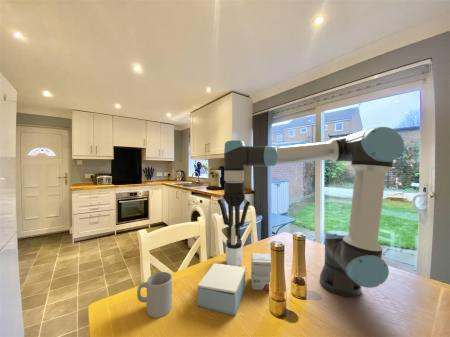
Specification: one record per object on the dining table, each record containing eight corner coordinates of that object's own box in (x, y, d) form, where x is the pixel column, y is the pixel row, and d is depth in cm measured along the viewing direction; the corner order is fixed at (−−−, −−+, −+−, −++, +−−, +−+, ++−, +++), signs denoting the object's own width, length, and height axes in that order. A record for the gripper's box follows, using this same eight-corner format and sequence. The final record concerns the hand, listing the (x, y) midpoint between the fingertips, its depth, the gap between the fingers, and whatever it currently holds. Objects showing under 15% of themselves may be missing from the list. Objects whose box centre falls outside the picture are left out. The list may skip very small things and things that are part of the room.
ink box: (270, 279, 87) (270, 253, 87) (272, 291, 79) (273, 262, 79) (250, 277, 88) (251, 252, 88) (251, 289, 80) (251, 261, 79)
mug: (174, 300, 73) (174, 271, 73) (168, 317, 65) (168, 285, 64) (141, 301, 72) (141, 272, 72) (132, 319, 64) (132, 286, 64)
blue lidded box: (245, 288, 81) (245, 271, 81) (235, 316, 65) (235, 295, 65) (214, 281, 85) (214, 265, 85) (197, 306, 70) (197, 287, 70)
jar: (233, 269, 95) (233, 245, 95) (222, 263, 101) (222, 240, 100) (245, 263, 101) (245, 240, 101) (234, 257, 107) (234, 236, 107)
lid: (245, 269, 81) (245, 267, 81) (235, 293, 65) (235, 291, 65) (214, 264, 85) (214, 263, 85) (197, 286, 70) (197, 285, 70)
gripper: (252, 181, 75) (252, 241, 75) (221, 180, 79) (221, 237, 79) (249, 183, 68) (249, 249, 68) (214, 182, 72) (214, 245, 72)
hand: (234, 243), depth 74 cm, fingers closed
